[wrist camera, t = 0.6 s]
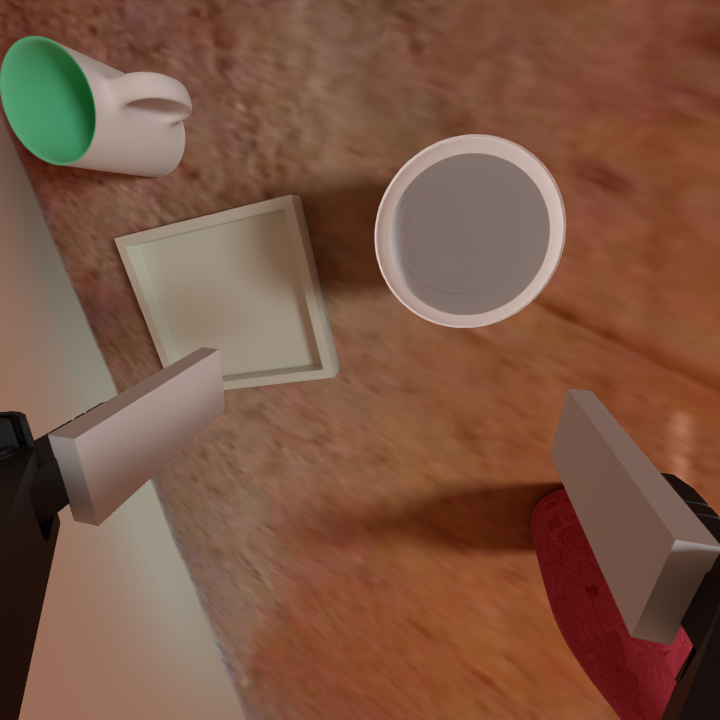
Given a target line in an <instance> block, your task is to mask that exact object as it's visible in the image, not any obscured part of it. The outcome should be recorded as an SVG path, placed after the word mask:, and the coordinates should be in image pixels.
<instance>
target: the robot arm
mask: <svg viewBox="0 0 720 720" xmlns="http://www.w3.org/2000/svg"><path fill="white" fill-rule="evenodd" d="M224 410H225V402H224V392H223V383H222V373H221V363H220V354H219V349H213V348H204V347H201V348H200V349H198V350H196V351H194V352H192V353H191V354H189V355H187V356H185V357H184V358H182V359H180V360H178V361H177V362H175V363H173V364H171V365H170V366H168V367H166V368H164V369H163V370H161V371H159V372H157V373H156V374H154V375H152V376H150V377H149V378H147V379H145V380H143V381H142V382H140V383H138V384H136V385H134V386H133V387H131V388H129V389H127V390H126V391H124V392H122V393H120V394H119V395H117V396H115V397H113V398H112V399H110V400H108V401H106V402H103V403H100V404H99V405H97V406H95V407H93V408H92V409H90V410H88V411H87V412H86V413H83V414H81V415H79V416H77V417H76V418H75V419H74V420H70V421H68V422H67V423H65V424H63V425H61V426H60V427H58V428H56V429H54V430H53V431H51V432H50V433H47V434H46V435H44V436H42V437H40V438H38V439H37V440H35V441H34V440H33V437H32V433H31V430H30V427H29V425H28V421H27V419H26V415H25V414H23V413H21V412H14V411H10V412H0V720H18V719H19V714H20V709H21V705H22V700H23V696H24V691H25V686H26V681H27V677H28V672H29V667H30V663H31V658H32V653H33V649H34V644H35V639H36V635H37V630H38V625H39V621H40V616H41V611H42V607H43V602H44V597H45V592H46V588H47V583H48V578H49V574H50V569H51V564H52V560H53V555H54V550H55V546H56V541H57V536H58V532H59V527H60V520H59V517H58V513H57V512H59V511H60V510H61V509H63V508H64V507H65V506H66V505H68V504H69V505H70V508H71V512H72V515H73V518H74V521H77V522H82V523H88V524H92V525H97V526H99V525H100V524H101V523H102V522H103V521H104V520H106V519H107V518H108V517H109V516H110V515H111V514H112V513H113V512H114V511H115V510H116V509H117V508H118V507H120V506H121V505H122V504H123V503H124V502H125V501H126V500H127V499H128V498H129V497H130V496H132V495H133V494H134V493H135V492H136V491H137V490H138V489H139V488H140V487H141V486H142V485H143V484H145V483H146V481H148V480H149V479H150V478H151V477H152V476H153V475H154V474H156V473H157V472H158V471H159V470H160V469H161V468H162V467H163V466H164V465H165V464H166V463H168V462H169V461H170V460H171V459H172V458H173V457H174V456H175V455H176V454H177V453H178V452H180V451H181V450H182V449H183V448H184V447H185V446H186V445H187V444H188V443H189V442H190V441H191V440H193V439H194V438H195V437H196V436H197V435H198V434H199V433H200V432H201V431H202V430H203V429H205V428H206V427H207V426H208V425H209V424H210V423H211V422H212V421H213V420H214V419H215V418H217V417H218V416H219V415H220V414H221V413H222V412H223V411H224ZM550 456H551V458H552V460H553V463H554V465H555V467H556V469H557V472H558V474H559V476H560V478H561V481H562V483H563V485H564V487H565V490H566V492H567V494H568V496H569V499H570V501H571V503H572V505H573V508H574V510H575V512H576V514H577V517H578V519H579V521H580V523H581V526H582V528H583V530H584V532H585V535H586V537H587V539H588V541H589V544H590V546H591V548H592V550H593V553H594V555H595V557H596V559H597V562H598V564H599V566H600V568H601V571H602V573H603V575H604V577H605V580H606V582H607V584H608V586H609V589H610V591H611V593H612V595H613V598H614V600H615V602H616V604H617V607H618V609H619V611H620V613H621V616H622V618H623V620H624V622H625V625H626V627H627V629H628V631H629V634H630V636H631V637H634V638H639V639H643V640H648V641H653V642H658V643H663V644H667V645H671V644H672V642H673V641H674V639H675V637H676V635H677V633H678V631H679V629H680V627H681V625H682V627H683V629H684V631H685V632H686V634H687V636H688V637H689V639H690V641H691V643H692V644H693V647H692V649H691V651H690V652H689V654H688V656H687V658H686V660H685V661H684V663H683V665H682V667H681V669H680V670H679V672H678V674H677V676H676V678H675V679H674V680H675V681H676V684H675V687H674V689H673V692H672V694H671V696H670V699H669V701H668V703H667V706H666V708H665V711H664V713H663V715H662V718H661V720H720V520H719V516H718V515H717V514H716V513H715V512H714V511H713V509H712V508H711V507H708V504H707V503H706V502H705V501H704V500H703V498H702V497H701V496H700V495H699V494H698V493H697V492H696V491H695V490H694V489H693V488H692V487H690V486H689V485H687V484H686V483H685V482H683V481H682V480H680V479H679V478H677V477H676V476H675V475H672V474H665V473H660V472H659V471H658V470H657V469H656V467H655V466H654V465H653V464H652V463H651V461H650V460H649V459H648V458H647V457H646V455H645V454H644V453H643V452H642V451H641V449H640V448H639V447H638V446H637V445H636V443H635V442H634V441H633V440H632V439H631V437H630V436H629V435H628V434H627V433H626V431H625V430H624V429H623V428H622V427H621V425H620V424H619V423H618V422H617V421H616V419H615V418H614V417H613V416H612V415H611V413H610V412H609V411H608V410H607V409H606V407H605V406H604V405H603V404H602V403H601V401H600V400H599V399H598V398H597V397H596V395H595V394H594V393H593V392H592V391H586V390H577V389H568V391H567V394H566V398H565V402H564V405H563V409H562V413H561V417H560V420H559V424H558V428H557V432H556V435H555V439H554V443H553V447H552V450H551V454H550Z"/></svg>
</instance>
